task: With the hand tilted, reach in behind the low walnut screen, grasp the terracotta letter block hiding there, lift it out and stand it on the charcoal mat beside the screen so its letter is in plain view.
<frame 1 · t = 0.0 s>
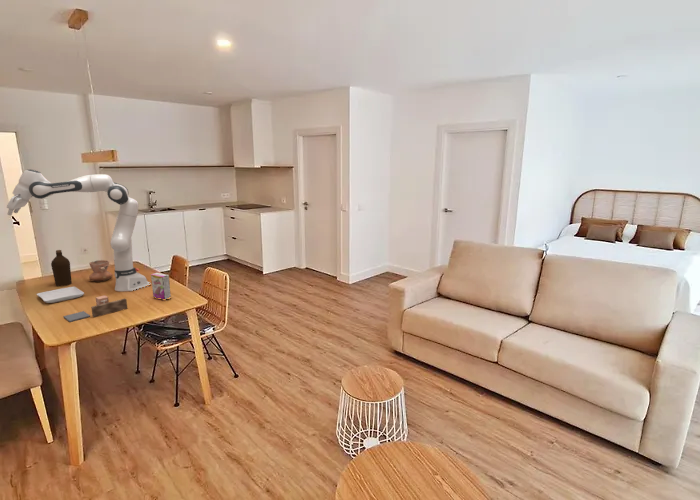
hand: (12, 213, 235), 54 cm above the table, tool tilted 30°, fingers open, 8 cm apart
charcoal mat: (77, 317, 219), on the table
ceramic jug: (101, 280, 286), on the table
letter block: (103, 309, 231), on the table
walnut screen: (110, 312, 227), on the table
candy bar box: (162, 298, 251), on the table
olive oil: (64, 284, 274), on the table
salad plate: (61, 298, 250), on the table
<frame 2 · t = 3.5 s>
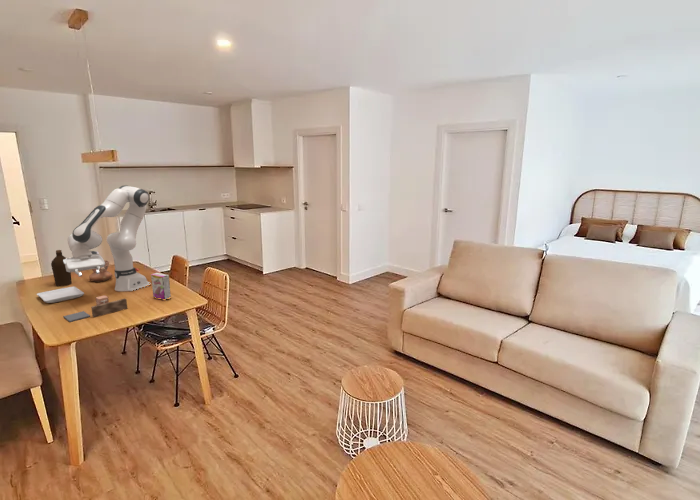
hand: (89, 274, 234), 19 cm above the table, tool tilted 45°, fingers open, 8 cm apart
nothing on the table moved.
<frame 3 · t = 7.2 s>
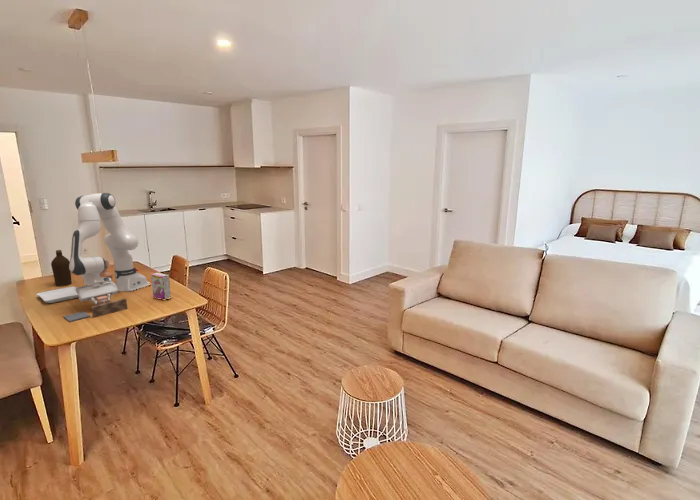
hand: (103, 302, 229), 5 cm above the table, tool tilted 45°, fingers closed on letter block, 5 cm apart
letter block: (103, 309, 231), on the table, touching gripper
everything else where it was.
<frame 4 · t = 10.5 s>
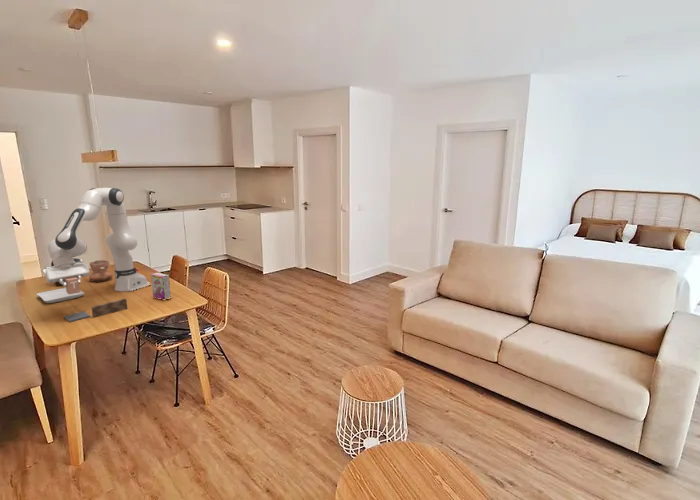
hand: (72, 284, 215), 20 cm above the table, tool tilted 45°, fingers closed on letter block, 5 cm apart
letter block: (73, 292, 216), point 15 cm above the table, touching gripper
everything else where it was.
when the fingers open (7 cm above the table, at t = 13.9 s): letter block drops 1 cm, resting on charcoal mat.
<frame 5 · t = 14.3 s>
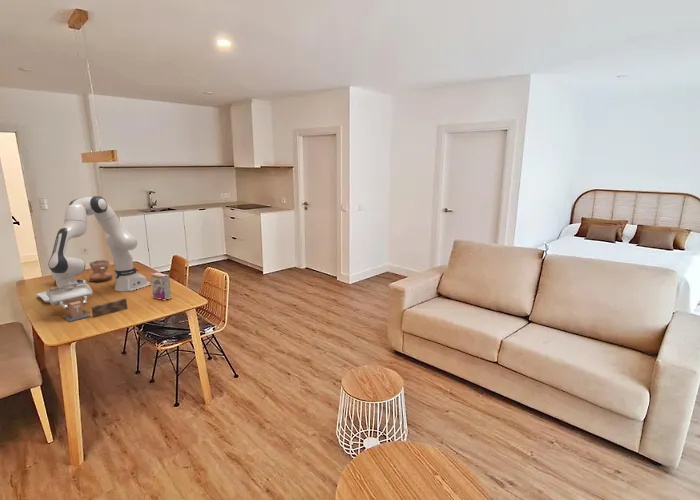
hand: (75, 306, 217), 7 cm above the table, tool tilted 45°, fingers open, 8 cm apart
letter block: (76, 315, 219), point 1 cm above the table, touching charcoal mat
everything else where it was.
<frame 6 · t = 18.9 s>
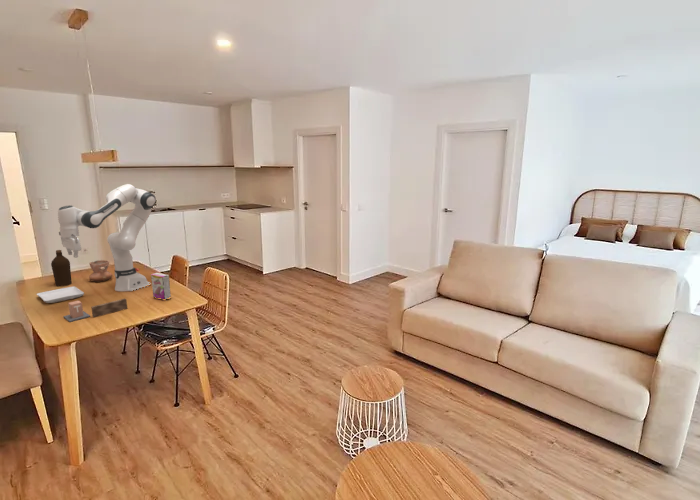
hand: (73, 256, 230), 31 cm above the table, tool pointing down, fingers open, 8 cm apart
nothing on the table moved.
at the end: letter block 0.0 cm off-centre on the charcoal mat, point 0.8 cm above the charcoal mat's base; letter block tilted 0°; the gripper is holding nothing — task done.
